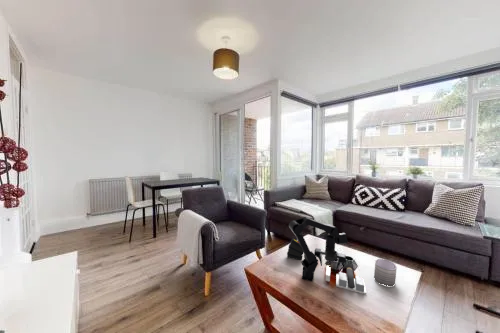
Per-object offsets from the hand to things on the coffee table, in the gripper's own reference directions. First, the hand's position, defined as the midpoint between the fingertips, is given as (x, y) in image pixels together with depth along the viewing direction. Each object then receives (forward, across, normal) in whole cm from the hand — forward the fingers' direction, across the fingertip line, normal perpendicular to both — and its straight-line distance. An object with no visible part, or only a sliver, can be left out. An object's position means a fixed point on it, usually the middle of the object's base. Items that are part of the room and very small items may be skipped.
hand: (328, 267), depth 132 cm
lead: (+5, +13, -1) cm, 14 cm away
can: (+6, +33, +10) cm, 35 cm away
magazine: (+6, -23, +12) cm, 27 cm away
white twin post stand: (+6, +13, -3) cm, 14 cm away
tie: (+6, 0, 0) cm, 6 cm away
